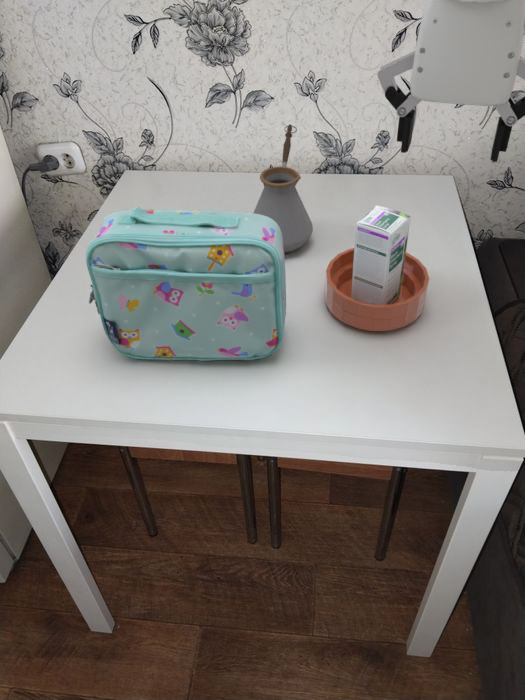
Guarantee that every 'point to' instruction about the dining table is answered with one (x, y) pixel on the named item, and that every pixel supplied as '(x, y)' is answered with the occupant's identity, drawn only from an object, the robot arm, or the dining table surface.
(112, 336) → the lunch box
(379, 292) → the syrup box
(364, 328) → the bowl
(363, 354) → the dining table surface
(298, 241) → the coffee pot
